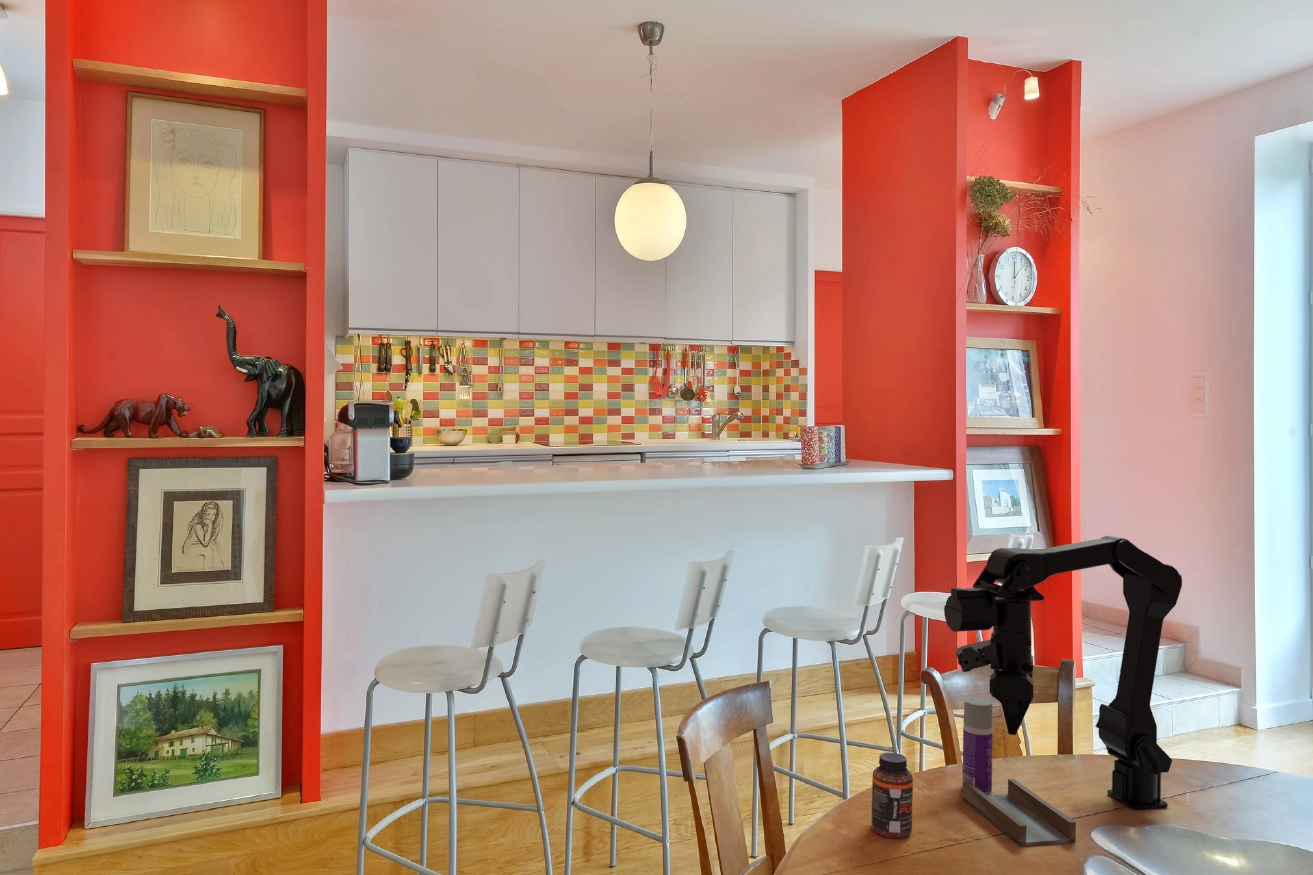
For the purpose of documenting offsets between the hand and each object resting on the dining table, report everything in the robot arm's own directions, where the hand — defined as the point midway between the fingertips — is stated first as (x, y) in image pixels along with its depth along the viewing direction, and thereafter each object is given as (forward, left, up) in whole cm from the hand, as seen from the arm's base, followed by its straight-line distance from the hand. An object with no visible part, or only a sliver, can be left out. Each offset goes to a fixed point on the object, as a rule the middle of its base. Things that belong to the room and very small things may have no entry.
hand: (1012, 724), depth 139 cm
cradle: (+2, +4, -14) cm, 14 cm away
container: (+2, -8, -14) cm, 16 cm away
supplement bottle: (+23, +4, -14) cm, 27 cm away
